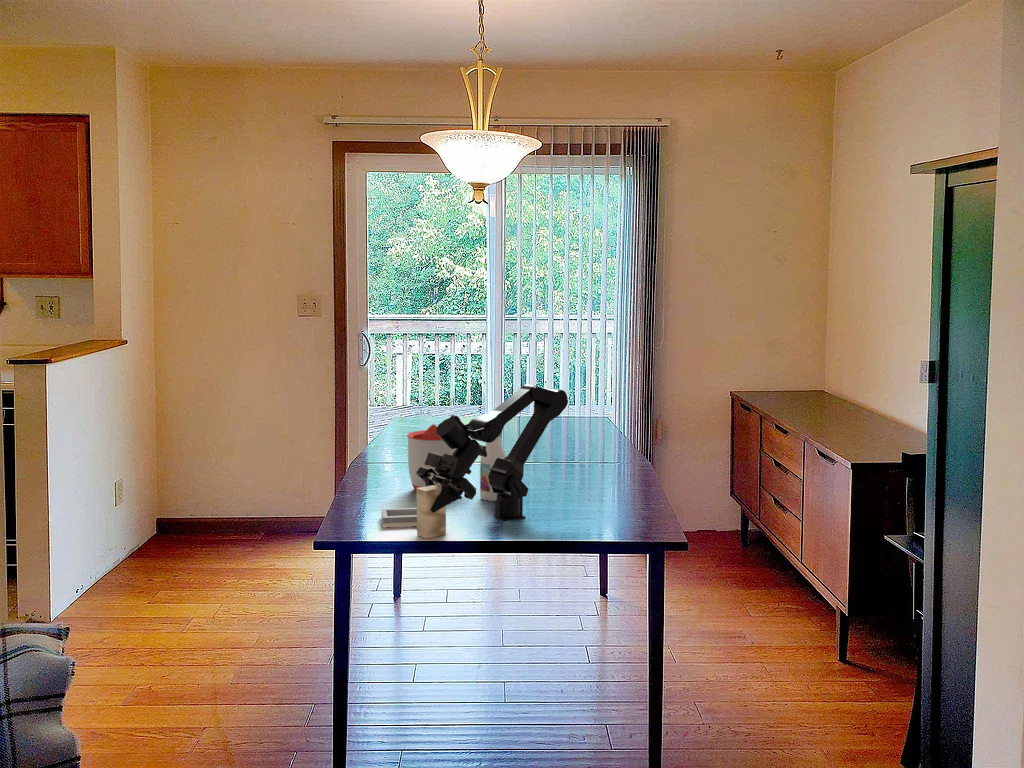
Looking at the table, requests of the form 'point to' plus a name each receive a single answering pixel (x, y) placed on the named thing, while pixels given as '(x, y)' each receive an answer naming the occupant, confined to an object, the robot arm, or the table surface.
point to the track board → (399, 517)
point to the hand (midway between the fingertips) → (426, 509)
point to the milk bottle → (486, 463)
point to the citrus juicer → (424, 452)
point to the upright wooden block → (430, 513)
